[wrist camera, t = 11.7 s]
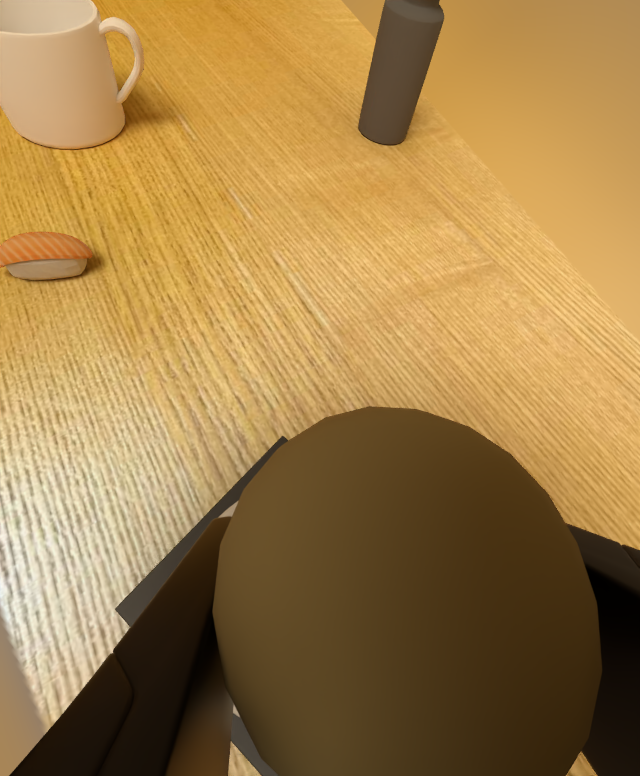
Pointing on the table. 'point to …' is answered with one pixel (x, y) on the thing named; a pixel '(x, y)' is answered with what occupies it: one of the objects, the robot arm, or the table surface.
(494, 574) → the brown chess pawn
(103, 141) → the mug
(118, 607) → the scale
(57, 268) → the sushi
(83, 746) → the robot arm
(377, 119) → the bottle
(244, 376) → the table surface
